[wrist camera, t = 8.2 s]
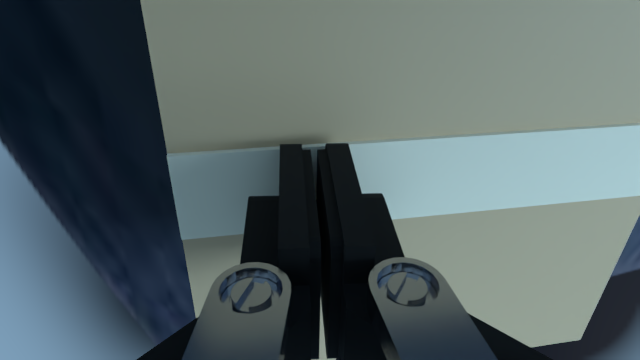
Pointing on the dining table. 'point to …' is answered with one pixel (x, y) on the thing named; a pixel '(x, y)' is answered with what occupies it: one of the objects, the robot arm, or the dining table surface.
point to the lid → (418, 135)
